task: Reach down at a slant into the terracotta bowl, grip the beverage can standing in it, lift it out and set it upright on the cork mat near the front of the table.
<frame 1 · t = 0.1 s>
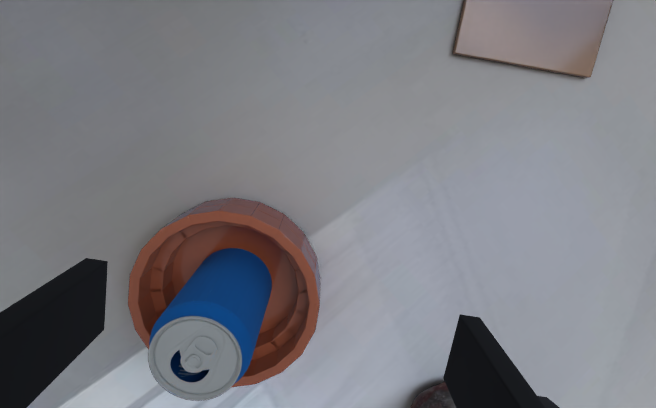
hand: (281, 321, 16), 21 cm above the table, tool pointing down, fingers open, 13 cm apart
stone cylinder: (442, 405, 41), on the table
bowl: (237, 278, 37), on the table
beverage can: (236, 279, 37), resting on bowl
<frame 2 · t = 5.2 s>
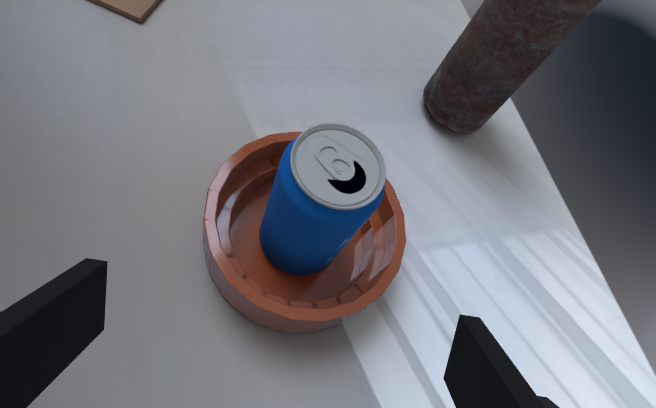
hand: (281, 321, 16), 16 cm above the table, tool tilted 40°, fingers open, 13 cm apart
stone cylinder: (448, 112, 46), on the table
bowl: (297, 241, 35), on the table
beverage can: (297, 240, 34), resting on bowl
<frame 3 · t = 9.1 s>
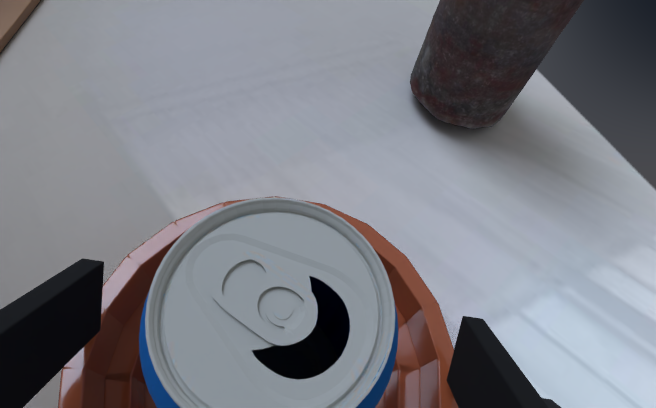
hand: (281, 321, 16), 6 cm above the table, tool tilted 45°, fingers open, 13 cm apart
stone cylinder: (451, 103, 32), on the table
bowl: (269, 381, 20), on the table
beverage can: (269, 381, 20), resting on bowl
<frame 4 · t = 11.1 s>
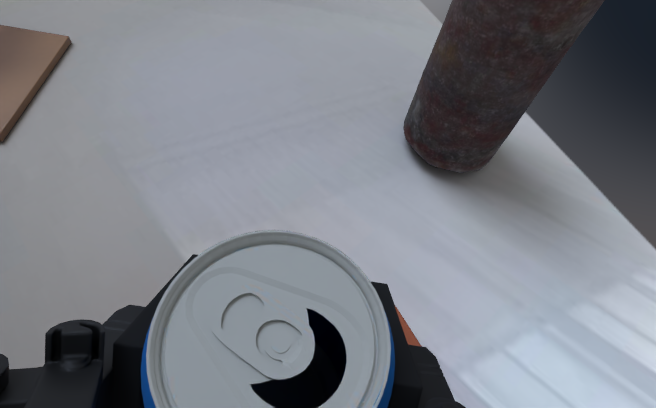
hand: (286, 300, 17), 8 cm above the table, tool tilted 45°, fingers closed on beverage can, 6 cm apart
stone cylinder: (443, 145, 34), on the table
beverage can: (271, 401, 20), point 3 cm above the table, touching gripper
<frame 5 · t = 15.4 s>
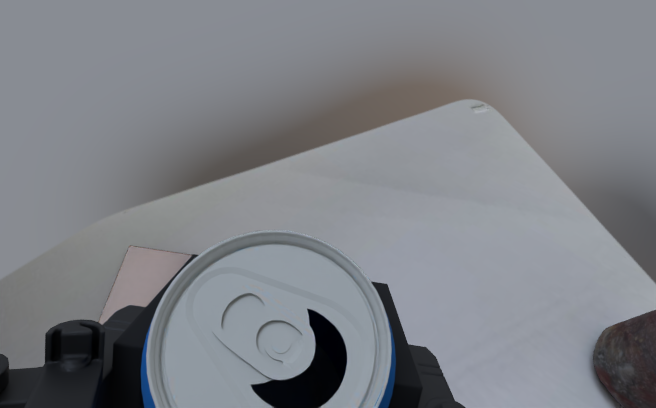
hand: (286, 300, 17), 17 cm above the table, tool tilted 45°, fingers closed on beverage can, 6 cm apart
stone cylinder: (626, 374, 35), on the table
cork mat: (176, 321, 33), on the table
beverage can: (272, 401, 20), point 12 cm above the table, touching gripper
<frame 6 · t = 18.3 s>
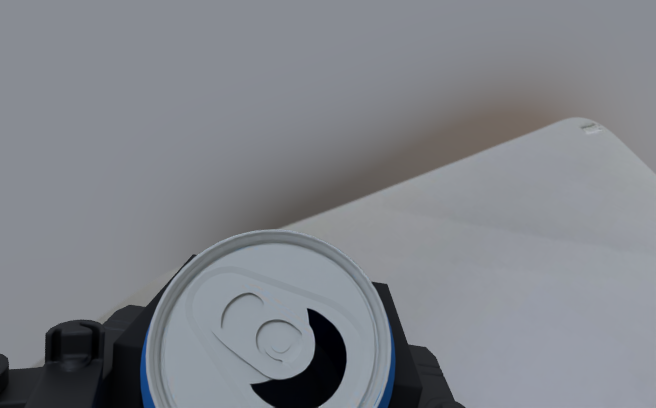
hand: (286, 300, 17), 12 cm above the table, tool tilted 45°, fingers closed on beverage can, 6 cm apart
beverage can: (271, 401, 20), point 6 cm above the table, touching gripper
when the fingers open (6 cm above the table, at t = 20.2 s): beverage can stays where it is, resting on cork mat.
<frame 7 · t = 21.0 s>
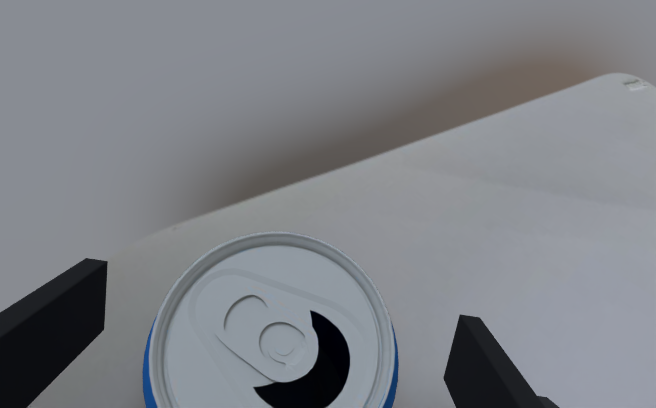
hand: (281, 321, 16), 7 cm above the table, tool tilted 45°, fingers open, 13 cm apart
beverage can: (272, 403, 20), resting on cork mat
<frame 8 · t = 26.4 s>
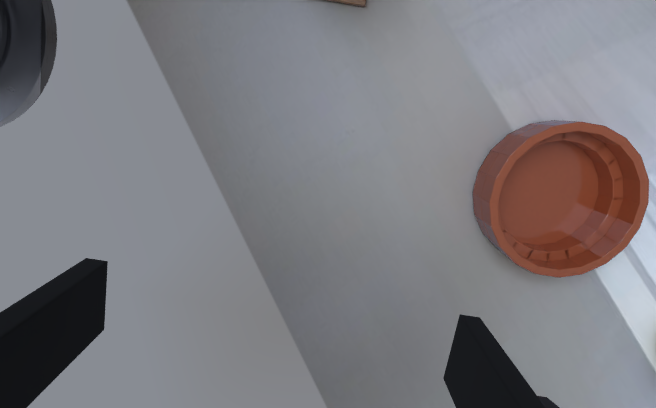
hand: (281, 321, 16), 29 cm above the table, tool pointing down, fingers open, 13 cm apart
bowl: (542, 192, 44), on the table
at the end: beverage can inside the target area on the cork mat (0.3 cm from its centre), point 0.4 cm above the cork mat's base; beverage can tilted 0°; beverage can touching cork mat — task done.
